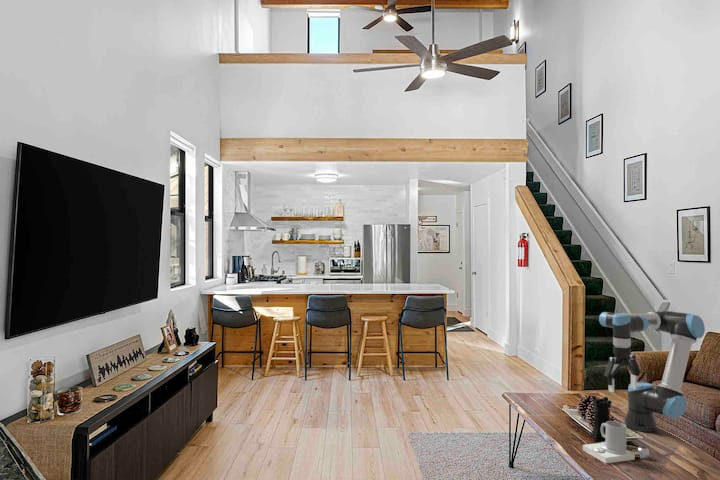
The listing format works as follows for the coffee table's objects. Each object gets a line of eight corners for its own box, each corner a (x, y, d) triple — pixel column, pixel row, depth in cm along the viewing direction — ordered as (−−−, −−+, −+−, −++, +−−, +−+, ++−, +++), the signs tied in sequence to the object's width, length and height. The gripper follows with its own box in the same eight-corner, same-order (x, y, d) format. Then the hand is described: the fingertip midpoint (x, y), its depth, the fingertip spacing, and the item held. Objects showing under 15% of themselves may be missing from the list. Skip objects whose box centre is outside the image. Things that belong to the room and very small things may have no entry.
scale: (610, 446, 228) (610, 439, 228) (634, 459, 214) (634, 451, 214) (582, 450, 224) (582, 442, 224) (605, 463, 210) (605, 455, 210)
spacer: (643, 454, 220) (643, 446, 220) (651, 458, 216) (651, 450, 216) (635, 455, 219) (635, 447, 219) (643, 459, 214) (643, 451, 214)
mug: (630, 450, 216) (630, 426, 216) (617, 453, 212) (618, 428, 213) (607, 440, 227) (607, 417, 227) (594, 443, 223) (594, 419, 223)
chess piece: (612, 442, 233) (612, 401, 233) (594, 441, 234) (595, 400, 235) (607, 436, 240) (607, 396, 241) (590, 435, 242) (590, 395, 242)
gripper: (635, 342, 236) (636, 384, 236) (594, 346, 229) (595, 390, 229) (648, 345, 229) (649, 389, 229) (607, 350, 222) (608, 395, 222)
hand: (622, 390), depth 229 cm, fingers open, 13 cm apart
